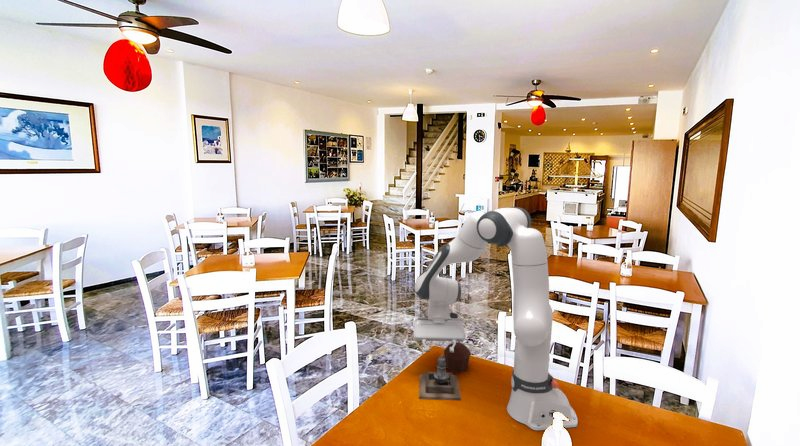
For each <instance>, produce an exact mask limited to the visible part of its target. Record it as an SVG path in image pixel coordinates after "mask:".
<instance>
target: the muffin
mask: <svg viewBox="0 0 800 446" xmlns="http://www.w3.org/2000/svg"><path fill="white" fill-rule="evenodd" d="M452 346H453V344H452V342H451V343H449V344H448V345H446V347H445V348H444V350H443V356H444V357H445V365H446V368H447V369H448V371H450V372H452V373H463V372H467V369H468V367H469V363H470V358H471V355H472V353H471V351H470V348H468V346H466V345H465V344H464V343H461V342H456V345H455V347H454V353H450V347H452Z"/></svg>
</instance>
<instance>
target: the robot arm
mask: <svg viewBox="0 0 800 446" xmlns="http://www.w3.org/2000/svg"><path fill="white" fill-rule="evenodd" d="M531 226H532V217H531V215H530V213H529V212H528V211H527V210H526V209H524V208H522V207H519V206H518V207H517V206H512V207H501V208H497V209H494V210H489V211H487V212H485V211H481V210H477V211H473V212H471V213H470V214H469V215H468V217H467V218H466V220H465V221H464V223H463V224H462V226H461V228H460V230H459V231H458V233H457V235H456V236H455V237H454V238H453V239H452V240H451V241H449V242H448V243H445V244H443V245H442V246H441V247H439V249H438V251H437V252H436V254H435V255H434V257H433V258H432V259H431V261H430V262H429V263H428V265H427V266H426V267H425V269H424V270H423V272H422V273H420V275H419V276H418V277H417V279H416V280H415V283H414V293H415V294H416V296H417V297H418V298H419V299H420V300H423V301H424V300H425V301H426V300H427V304H428V308H427V316H426V317H425V316H424V317H421V316H420V317H419V316H417V317H416V318H413V320H412V326H413V333H412V334H413V336H412V337H413V339H414V340H415V341H419V342H422V343H421V344H422V346H423V347H424V352H425V353H429V352H430V346H429V345H427V342H451V343H452V344H453V346H452V347H450V353H454V347H455V345H456V342H458V343H461V342H464V341H465V340H466V332H465V331H466V330H465V326H464V323H463V321H462V317H461V314H460V313H457V312H453V311H451V310H450V309H449V306H451V305H453V304H455V303H457V302H458V301H459V300H460V299H461V296H462V287H461V285H460V283H459V281H458V280H457V279H453V278H448V277H443V276H439V275H440V273H441V271H443V269H444V268H445V267H447V266H449V265H451V264H452V265H453V264H459V263H470V262H473V261H476V260H478V259H479V258H480V257H481V256H482V254H483V253H484V251H485V249H486V247H487V246H488V244H492V245H496V246H499V247H501V248H503V247H505V246H508V247H509V250H510V254H511V269H512V278H513V279H512V283H513V294H512V295H513V297H512V299H513V303H512V305H513V307H512V308H513V309H512V311H513V314H512V316H513V333H514V336H515V338H516V339H515V346H514V358H513V359H514V360H513V369H512V371H511V372H512V373H511V383H510V384H511V392H510V397H509V399H508V400H509V401H508V404H507V406H506V410H507V413H508V415H509V416H510V417H511V418H512V419H513V420H515V421H517V422H519V423H521V424H523V425H526V426H527V427H528V428H530V429H531V430H533V431H547V430H546V429H547V427H549V426H550V425H551V424H552V422H553V413H554V412H560V413H562V414H564V415H565V416H566V417H568V419H569V420H570V421H563V426H564V427H565V428H564V429H567V428H568V429H569V428H576V427H578V425H579V423H578V421H579V419H578V415H577V414H576V411H575V410H574V409H573V407H572V406H571V405H570V402H569V399H568V398H567V395H566V394H565V393H564V392H563V391H562V390H561V389H560V388H559V387H560V385H559V383H558V381H556V380H555V379H554V376H553V375H552V374H551V373H550V372H549V368H550V367H549V366H550V351H551V342H552V331H553V328H552V327H553V319H554V317H553V315H554V313H553V308H552V306H551V305H550V279H549V278H550V277H549V264H548V254H547V247H546V243H545V239H544V236H543V234H542V232H541V231H539V230H538V229H536V228H533V227H531Z"/></svg>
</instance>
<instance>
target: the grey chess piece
mask: <svg viewBox="0 0 800 446" xmlns="http://www.w3.org/2000/svg"><path fill="white" fill-rule="evenodd" d="M436 367H437V371H434V372H435V373H434V378H435V380H436V381H435V383H434V384H435V385H445V386H448V383H447V380H448V378H449V374H448V373H449V372H448V373H446V372H447V371H446V368H447V367H446V362H445V356H444V354H441V355H440V356H439V357H438V358H437V364H436Z"/></svg>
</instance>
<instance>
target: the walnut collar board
mask: <svg viewBox="0 0 800 446" xmlns="http://www.w3.org/2000/svg"><path fill="white" fill-rule="evenodd" d="M435 372H436V371H425V374H419V387H418V388H419V392H418V393H419V394H418V395H419V398H418V399H419V400H436V401H437V400H439V401H462V396H461V389H460V383H459V377H458V375H453V372H447V371H446V373H448V374H449V378H448V380H447V383H448V386H445V385H435V384H434V383H435V381H436V380H435V378H434V373H435Z"/></svg>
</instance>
